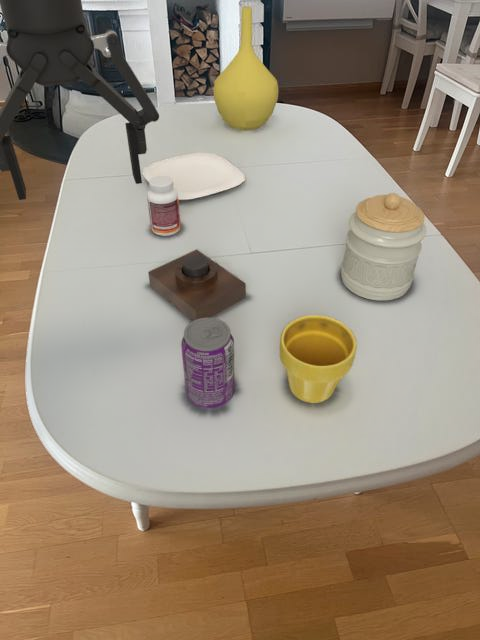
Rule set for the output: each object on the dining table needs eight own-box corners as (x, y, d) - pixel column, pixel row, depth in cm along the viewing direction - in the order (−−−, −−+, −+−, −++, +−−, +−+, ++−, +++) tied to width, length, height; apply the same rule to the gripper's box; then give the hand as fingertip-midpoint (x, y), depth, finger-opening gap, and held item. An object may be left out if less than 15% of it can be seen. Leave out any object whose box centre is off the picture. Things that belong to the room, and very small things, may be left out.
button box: (149, 286, 95) (146, 263, 92) (197, 262, 100) (196, 241, 97) (196, 324, 87) (195, 301, 84) (245, 297, 93) (246, 275, 89)
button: (178, 270, 91) (177, 260, 89) (198, 261, 93) (197, 251, 92) (193, 282, 88) (192, 272, 87) (213, 272, 91) (213, 262, 89)
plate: (255, 186, 124) (255, 180, 123) (173, 211, 115) (173, 204, 114) (210, 153, 137) (210, 147, 136) (134, 173, 129) (133, 166, 128)
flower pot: (342, 421, 72) (352, 374, 66) (269, 405, 74) (272, 358, 68) (350, 368, 80) (360, 321, 73) (284, 355, 82) (289, 308, 75)
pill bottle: (186, 231, 109) (182, 182, 102) (160, 240, 106) (154, 191, 99) (171, 218, 113) (166, 170, 105) (146, 227, 110) (139, 179, 103)
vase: (232, 141, 143) (232, 19, 123) (203, 119, 155) (199, 4, 135) (288, 129, 150) (296, 11, 130) (256, 108, 162) (259, -2, 142)
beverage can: (223, 369, 80) (222, 309, 72) (242, 402, 75) (242, 342, 67) (179, 382, 78) (173, 322, 70) (195, 417, 73) (190, 358, 65)
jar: (389, 312, 90) (411, 223, 78) (326, 282, 96) (338, 196, 84) (423, 278, 97) (448, 192, 85) (362, 252, 103) (378, 168, 92)
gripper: (-119, -6, 43) (-32, 217, 58) (174, -21, 49) (188, 186, 63) (-103, -21, 49) (-27, 186, 63) (159, -33, 54) (175, 160, 68)
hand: (81, 186), depth 63 cm, fingers open, 13 cm apart
